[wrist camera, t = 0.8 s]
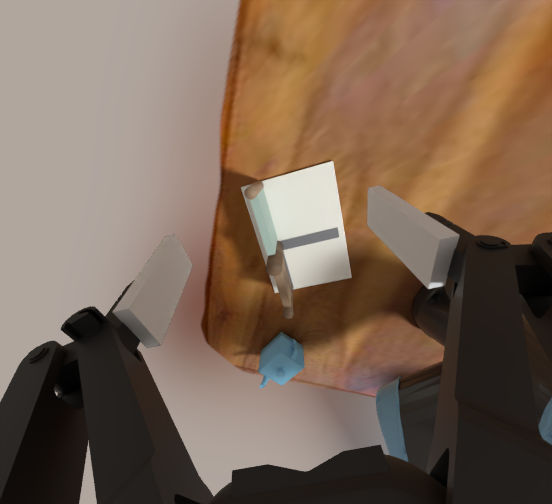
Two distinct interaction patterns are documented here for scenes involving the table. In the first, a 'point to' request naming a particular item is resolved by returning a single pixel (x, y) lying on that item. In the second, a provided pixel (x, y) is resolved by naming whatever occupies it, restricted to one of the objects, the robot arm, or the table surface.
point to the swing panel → (262, 216)
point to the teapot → (281, 359)
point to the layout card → (307, 225)
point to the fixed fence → (281, 279)
